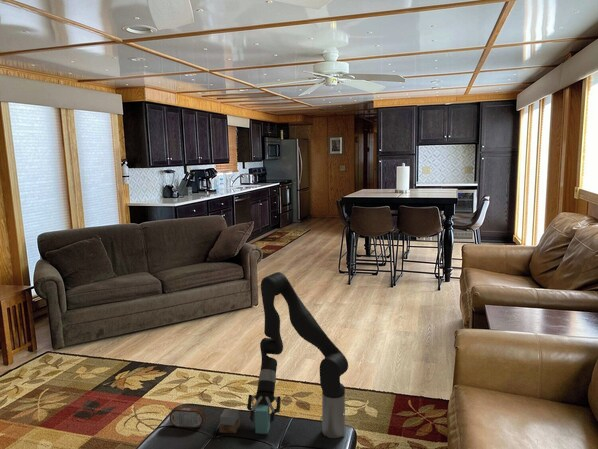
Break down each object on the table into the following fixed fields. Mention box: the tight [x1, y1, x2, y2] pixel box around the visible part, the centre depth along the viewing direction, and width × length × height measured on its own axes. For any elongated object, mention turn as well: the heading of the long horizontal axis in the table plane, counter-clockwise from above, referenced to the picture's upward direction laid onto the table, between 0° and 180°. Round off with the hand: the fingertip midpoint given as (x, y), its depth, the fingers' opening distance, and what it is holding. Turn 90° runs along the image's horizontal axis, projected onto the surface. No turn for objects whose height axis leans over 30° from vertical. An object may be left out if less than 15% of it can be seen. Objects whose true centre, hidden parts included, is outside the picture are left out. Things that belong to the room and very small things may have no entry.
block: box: [254, 404, 271, 435], centre depth 191 cm, size 5×5×10 cm
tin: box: [169, 405, 206, 429], centre depth 194 cm, size 15×3×8 cm, turn 84°
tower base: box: [218, 416, 241, 434], centre depth 193 cm, size 7×7×4 cm
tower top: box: [219, 408, 240, 426], centre depth 192 cm, size 6×6×4 cm
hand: (261, 421), depth 189 cm, fingers open, 7 cm apart
